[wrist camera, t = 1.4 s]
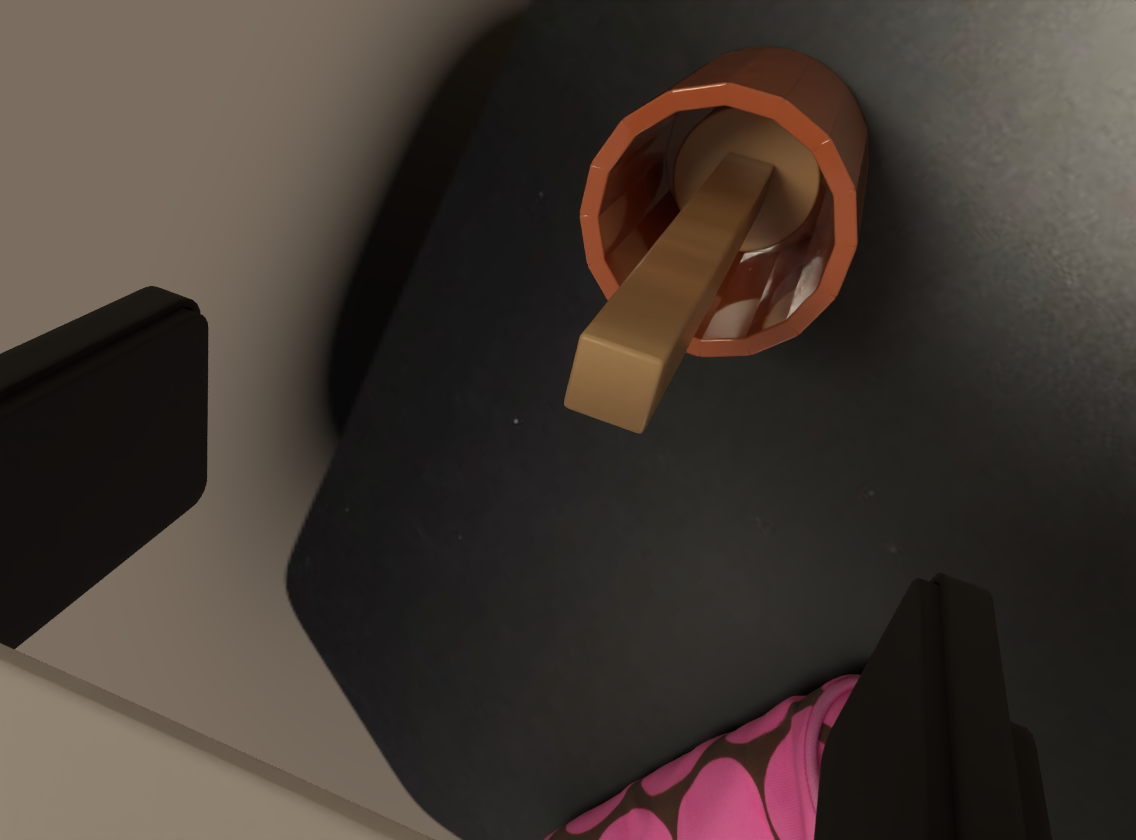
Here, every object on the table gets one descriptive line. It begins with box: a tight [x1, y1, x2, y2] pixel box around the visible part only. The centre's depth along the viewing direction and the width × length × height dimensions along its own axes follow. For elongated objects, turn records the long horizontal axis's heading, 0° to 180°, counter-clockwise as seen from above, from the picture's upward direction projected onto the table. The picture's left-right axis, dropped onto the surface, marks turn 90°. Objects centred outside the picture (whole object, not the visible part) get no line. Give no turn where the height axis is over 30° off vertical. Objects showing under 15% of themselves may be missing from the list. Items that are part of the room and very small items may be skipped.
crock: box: [580, 47, 869, 357], centre depth 25 cm, size 7×7×8 cm
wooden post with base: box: [564, 106, 824, 433], centre depth 21 cm, size 4×4×16 cm
